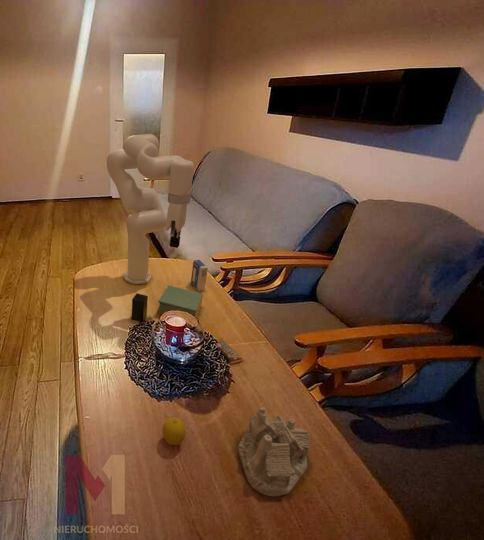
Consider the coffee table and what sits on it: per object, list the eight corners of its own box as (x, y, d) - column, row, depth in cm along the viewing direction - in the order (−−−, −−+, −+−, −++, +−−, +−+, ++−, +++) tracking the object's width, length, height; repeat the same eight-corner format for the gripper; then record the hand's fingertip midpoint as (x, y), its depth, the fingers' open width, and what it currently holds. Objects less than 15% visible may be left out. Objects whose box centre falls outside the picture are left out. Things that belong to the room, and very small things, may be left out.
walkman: (190, 283, 156) (193, 259, 151) (196, 282, 157) (199, 258, 151) (198, 292, 150) (201, 267, 144) (204, 291, 150) (208, 267, 144)
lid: (158, 302, 132) (158, 300, 132) (167, 287, 142) (167, 285, 142) (195, 312, 127) (195, 310, 126) (202, 295, 137) (203, 293, 136)
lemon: (159, 433, 90) (161, 411, 86) (180, 431, 91) (183, 410, 87) (164, 452, 85) (167, 431, 82) (186, 450, 86) (190, 429, 82)
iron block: (135, 314, 136) (136, 293, 131) (146, 317, 134) (147, 295, 130) (131, 321, 133) (132, 299, 128) (142, 324, 131) (143, 301, 126)
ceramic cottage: (244, 490, 77) (262, 445, 70) (233, 429, 91) (247, 386, 84) (320, 508, 74) (347, 463, 67) (297, 441, 89) (317, 399, 82)
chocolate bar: (210, 343, 120) (210, 342, 120) (222, 340, 121) (222, 338, 121) (231, 364, 111) (231, 363, 111) (243, 361, 112) (244, 359, 112)
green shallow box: (158, 316, 135) (159, 303, 132) (168, 299, 145) (169, 288, 142) (193, 325, 130) (195, 312, 127) (201, 307, 139) (202, 295, 137)
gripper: (174, 190, 126) (170, 237, 135) (161, 202, 115) (158, 252, 124) (195, 193, 123) (189, 240, 132) (184, 205, 112) (179, 256, 121)
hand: (174, 246), depth 128 cm, fingers closed
